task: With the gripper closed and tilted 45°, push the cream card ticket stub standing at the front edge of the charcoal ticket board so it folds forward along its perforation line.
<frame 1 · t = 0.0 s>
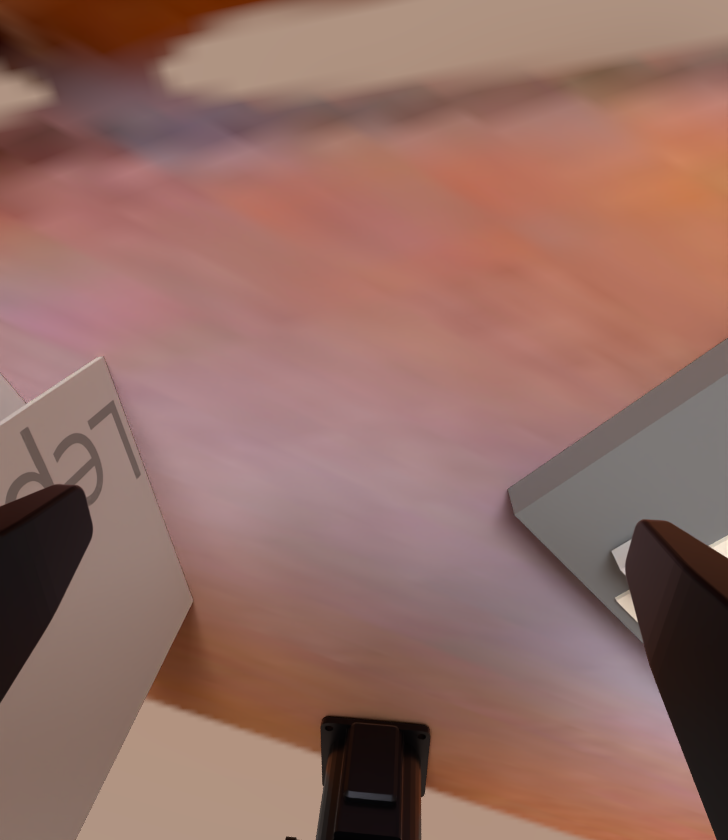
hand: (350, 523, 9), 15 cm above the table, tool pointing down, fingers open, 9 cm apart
brochure: (104, 494, 28), on the table
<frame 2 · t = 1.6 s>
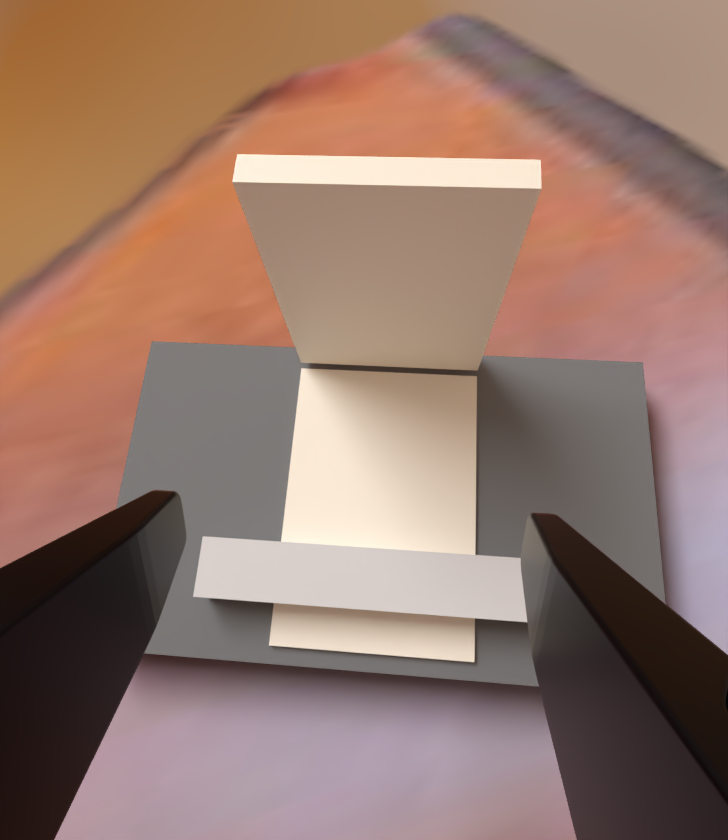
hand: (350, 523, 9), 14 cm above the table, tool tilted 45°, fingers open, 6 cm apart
ticket board: (381, 506, 23), on the table
ticket stub: (387, 288, 17), point 7 cm above the table, hinge at 0.0°
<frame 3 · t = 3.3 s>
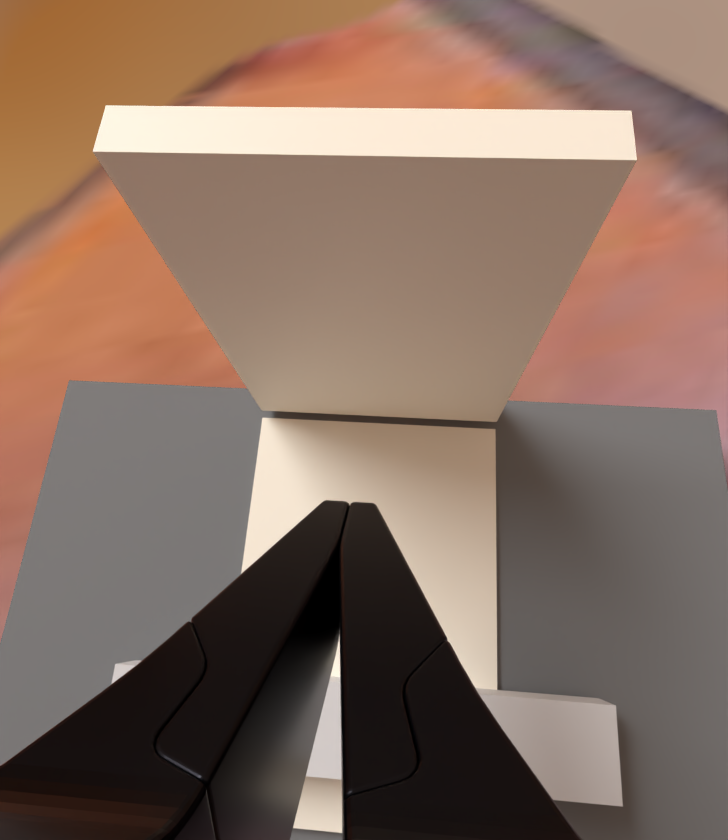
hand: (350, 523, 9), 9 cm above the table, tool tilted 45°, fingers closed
ticket board: (369, 599, 17), on the table
ticket stub: (372, 318, 12), point 7 cm above the table, hinge at 0.0°
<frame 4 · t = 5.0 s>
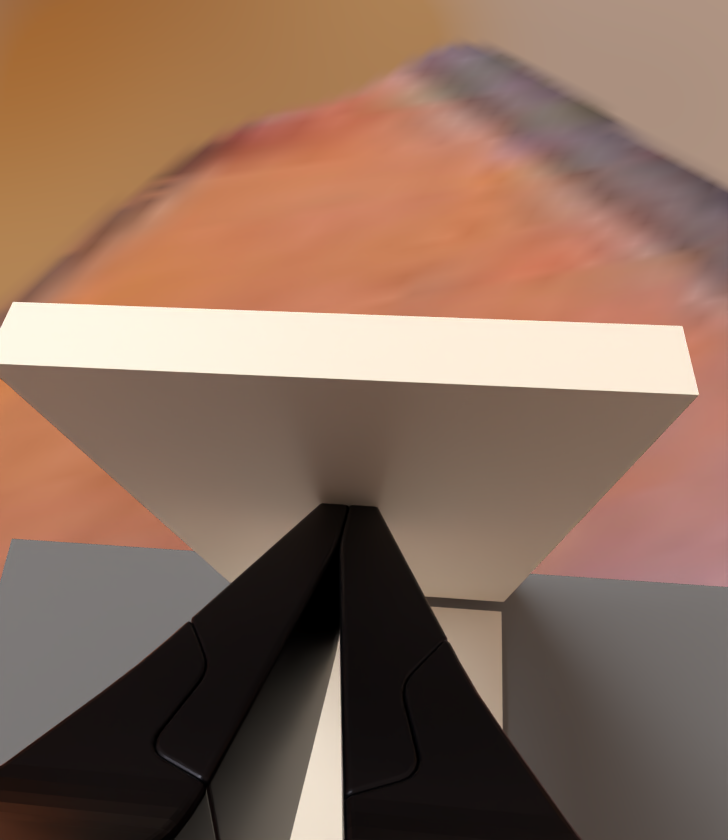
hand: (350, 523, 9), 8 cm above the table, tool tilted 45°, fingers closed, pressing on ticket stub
ticket board: (355, 800, 15), on the table
ticket stub: (355, 508, 10), point 7 cm above the table, hinge at 9.2°, touching gripper
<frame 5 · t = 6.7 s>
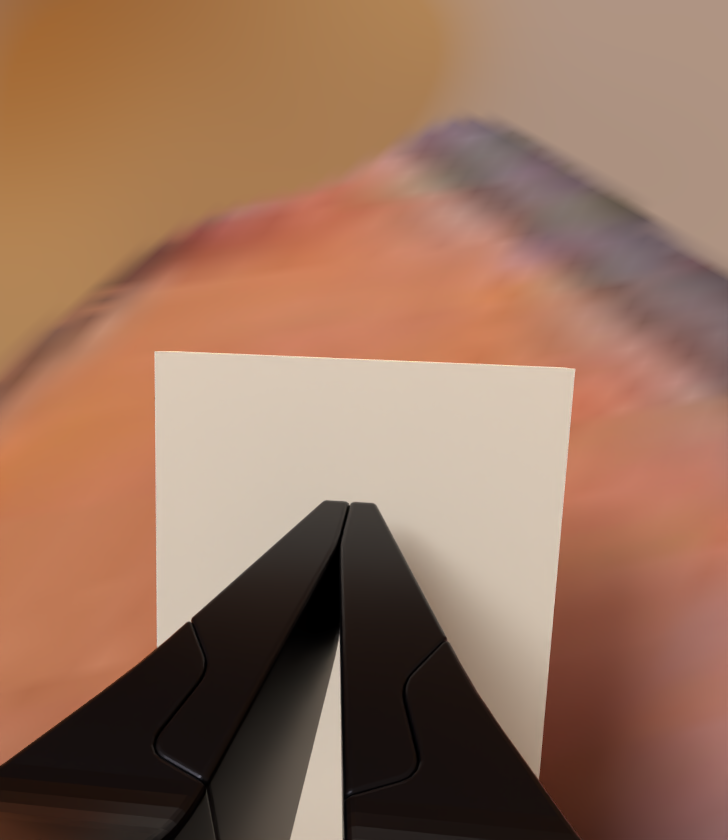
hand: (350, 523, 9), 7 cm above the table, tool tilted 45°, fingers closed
ticket stub: (350, 630, 10), point 5 cm above the table, hinge at 64.0°
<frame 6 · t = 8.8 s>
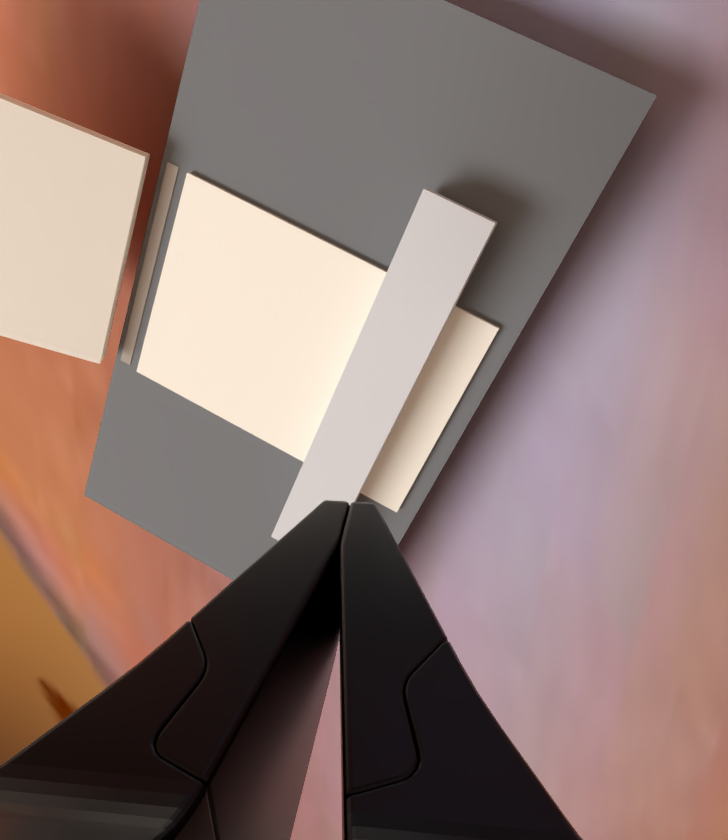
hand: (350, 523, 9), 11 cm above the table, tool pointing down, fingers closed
ticket board: (316, 335, 20), on the table
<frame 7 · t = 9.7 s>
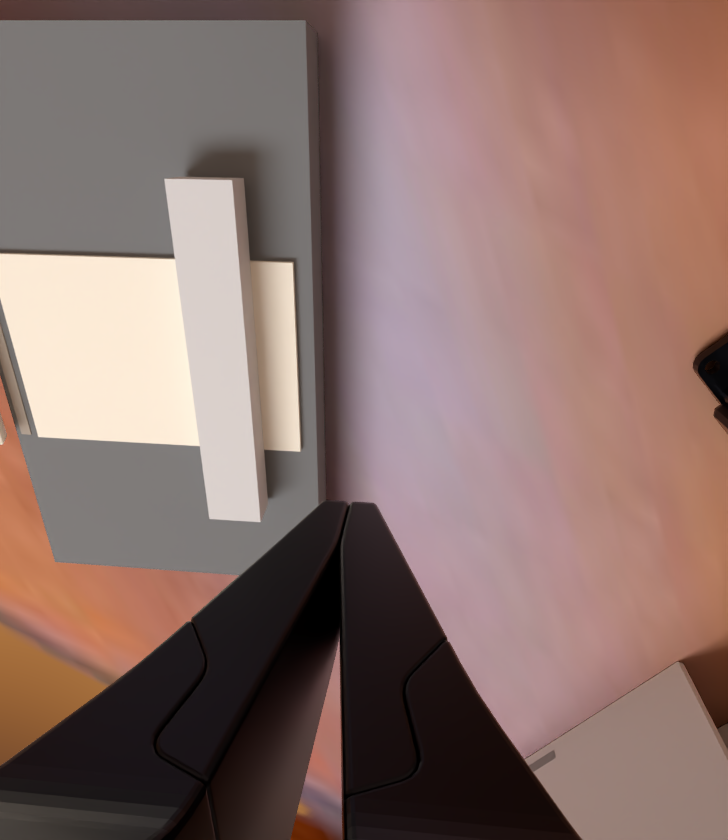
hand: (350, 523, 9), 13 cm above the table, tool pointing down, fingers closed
ticket board: (172, 339, 22), on the table
brochure: (605, 749, 31), on the table
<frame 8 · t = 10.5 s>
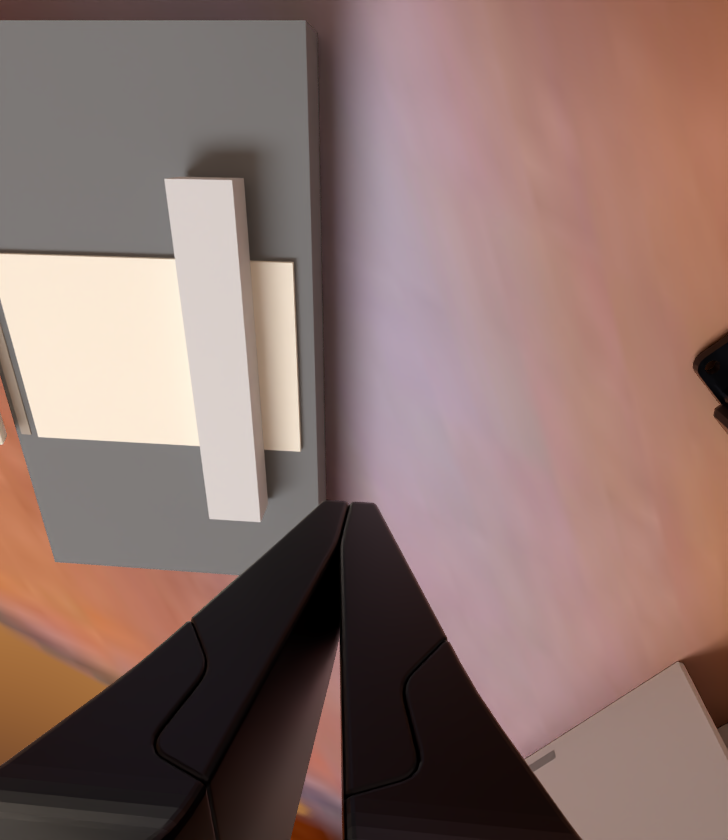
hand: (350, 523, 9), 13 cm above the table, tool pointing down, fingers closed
ticket board: (172, 339, 22), on the table
brochure: (605, 749, 31), on the table
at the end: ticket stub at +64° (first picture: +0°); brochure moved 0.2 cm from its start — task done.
